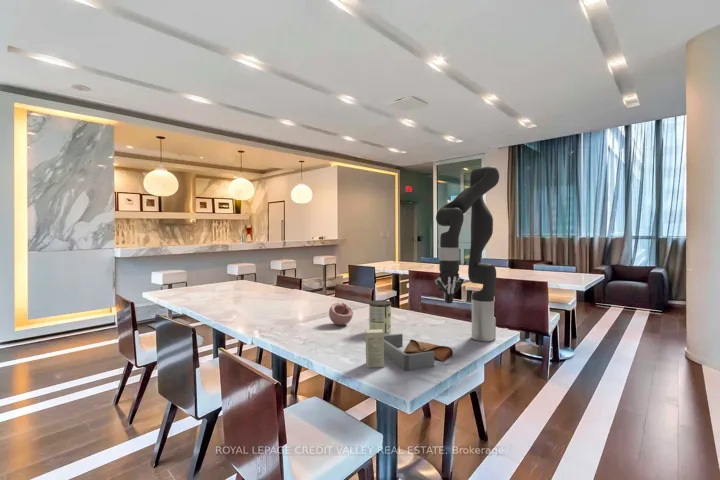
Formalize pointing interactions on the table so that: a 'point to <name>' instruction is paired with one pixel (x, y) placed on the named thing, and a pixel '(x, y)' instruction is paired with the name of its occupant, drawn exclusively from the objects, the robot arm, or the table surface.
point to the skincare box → (374, 348)
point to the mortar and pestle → (340, 313)
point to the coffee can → (380, 315)
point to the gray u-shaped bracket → (406, 359)
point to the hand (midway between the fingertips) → (448, 302)
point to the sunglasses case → (439, 351)
